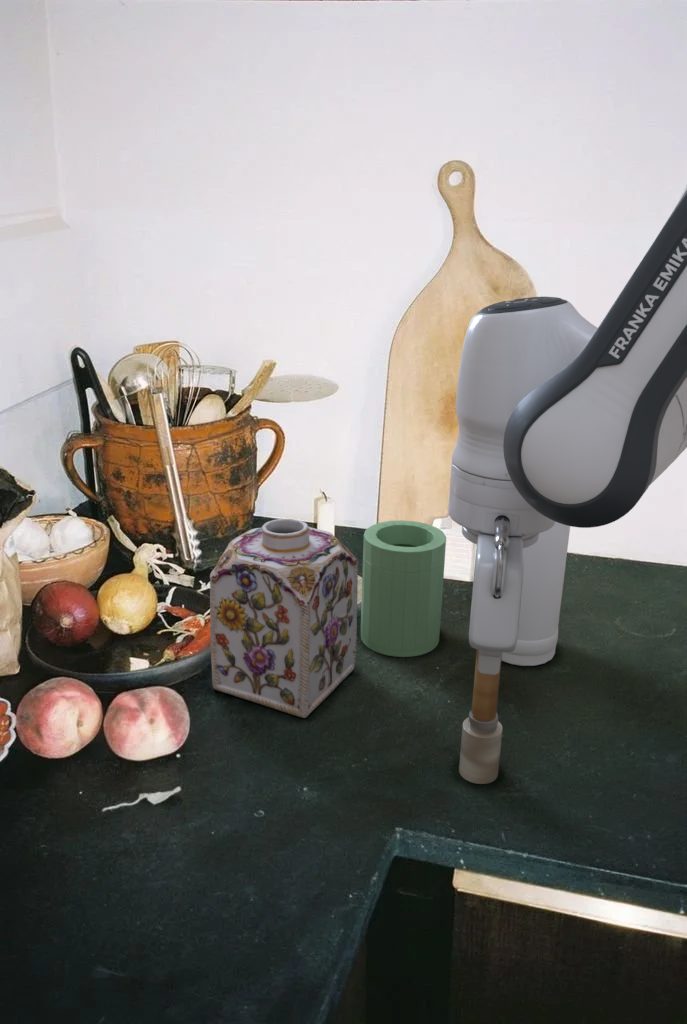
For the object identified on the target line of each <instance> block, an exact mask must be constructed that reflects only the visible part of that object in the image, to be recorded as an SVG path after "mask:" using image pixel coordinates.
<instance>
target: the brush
mask: <svg viewBox="0 0 687 1024" xmlns="http://www.w3.org/2000/svg"><path fill="white" fill-rule="evenodd" d="M475 653H476V654H475V666H474V677H473V690H472V701H471V702H472V703H471V709H470V711H469V713H468V717H466V718H465V719H464V720H463V722H462V726H461V740H460V752H459V763H458V772H459V774H460V776H461V778H463V779H464V780H465V781H468V782H470V783H472V784H478V785H488V784H491V783H493V782H495V781H496V780H497V779H498V776H499V769H500V760H501V751H502V750H501V749H502V739H503V729H504V727H503V725H502V723H501V722H500V721H499V715H498V713H497V709H498V699H499V690H500V689H499V688H500V680H501V679H500V678H501V669H502V661H501V662H500V671H499V673H498V674H496V675H490V674H482V673H480V672H479V671H478V658H479V649H476V652H475ZM501 659H502V655H501Z"/></svg>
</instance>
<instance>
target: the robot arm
mask: <svg viewBox="0 0 687 1024" xmlns="http://www.w3.org/2000/svg"><path fill="white" fill-rule="evenodd" d="M455 413H456V414H455V415H456V418H457V423H458V436H457V440H456V443H455V446H454V448H453V451H452V455H451V466H450V478H449V479H450V480H449V494H448V507H447V509H448V510H447V512H448V513H447V514H448V516H449V517H450V519H451V520H452V521H453V522H454V523H456V524H458V525H459V526H461V534H462V536H463V537H464V538H465V539H466V540H467V541H469V542H471V543H472V544H474V545H475V556H474V557H475V558H474V569H473V570H474V571H473V579H472V580H473V581H472V592H471V605H470V606H471V607H470V614H469V615H470V616H469V628H468V643H469V646H470V647H471V648H472V649H474V650H477V649H479V658H478V671H479V672H480V673H482V674H490V675H496V674H498V673H499V671H500V672H501V669H500V662H501V663H502V661H501V655H502V652H512V651H513V650H514V649H515V647H516V643H517V637H518V628H519V618H520V607H521V596H522V585H523V569H524V561H523V548H526V547H529V546H531V545H533V544H534V543H536V542H537V540H538V536H539V533H541V532H544V531H547V530H549V529H550V528H552V527H553V526H554V524H555V522H558V523H561V524H564V525H567V526H570V527H571V528H581V529H589V528H597V527H603V526H606V525H609V524H612V523H614V522H616V521H618V520H620V519H621V518H623V517H624V516H626V515H627V514H628V513H629V512H631V510H633V508H634V507H635V506H636V505H637V504H638V503H639V501H641V500H640V499H642V497H643V495H644V494H645V493H646V492H647V490H648V489H649V487H650V486H651V485H652V484H653V483H654V482H655V481H656V480H657V479H658V478H659V477H660V476H661V475H662V474H663V473H665V471H666V470H667V469H668V468H669V467H670V466H671V465H672V464H673V463H674V462H675V461H676V460H677V459H678V458H679V457H680V456H681V455H682V453H683V452H684V451H685V450H686V449H687V184H686V186H685V187H684V189H683V191H682V193H681V195H680V197H679V199H678V201H677V204H676V205H675V207H674V209H673V210H672V212H671V214H670V215H669V217H668V218H667V220H666V222H665V224H664V225H663V226H662V228H661V229H660V231H659V233H658V234H657V236H656V238H655V239H654V241H653V242H652V244H651V245H650V246H649V248H648V250H647V251H646V253H645V255H644V256H643V258H642V259H641V261H640V262H639V264H638V265H637V267H636V269H634V272H633V273H632V275H631V276H630V278H629V280H628V281H627V282H626V284H625V285H624V287H623V288H622V290H621V291H620V293H619V295H618V296H617V298H616V299H615V301H614V303H613V304H612V306H611V307H610V309H609V310H608V312H607V313H606V315H605V316H604V318H603V319H602V321H601V322H600V324H599V326H598V327H597V326H596V325H594V324H593V323H591V322H590V321H589V320H587V318H585V317H584V316H583V315H582V314H580V312H579V311H578V310H577V309H576V307H575V306H574V304H572V303H571V302H570V301H568V300H567V299H563V298H561V297H557V296H556V297H555V296H533V297H532V296H531V297H522V298H515V299H512V300H511V299H510V300H503V301H500V302H496V303H492V304H490V305H487V306H485V307H482V308H481V309H480V310H479V311H477V312H476V314H475V315H473V316H472V318H471V319H470V321H469V323H468V326H467V328H466V332H465V335H464V339H463V344H462V349H461V356H460V361H459V368H458V376H457V386H456V394H455Z"/></svg>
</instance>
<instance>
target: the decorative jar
mask: <svg viewBox="0 0 687 1024" xmlns="http://www.w3.org/2000/svg"><path fill="white" fill-rule="evenodd" d="M358 575H359V561H358V559H357V558H356V556H354V554H353V553H352V551H350V550H349V549H348V547H347V546H346V545H344V544H343V543H342V542H340V540H339V538H337V537H336V536H335V535H334V534H333V533H332V532H330V531H327V530H324V529H323V530H322V529H318V528H315V527H311V526H309V525H308V523H306V522H305V521H303V520H298V519H294V518H278V519H272V520H269V521H266V522H265V523H264V524H263V525H262V526H261V527H256V528H251V529H248V530H247V531H246V532H245V531H244V533H241V534H239V535H238V536H236V537H234V538H233V539H232V540H231V541H230V542H229V543H228V545H227V546H226V548H225V549H224V552H222V555H221V556H220V557H219V559H218V561H217V563H216V565H215V566H214V568H213V569H212V570H211V571H210V574H209V581H210V582H209V584H210V585H209V620H210V621H209V634H210V635H209V636H210V637H209V638H210V663H211V679H212V681H211V682H212V683H211V684H212V685H211V686H212V688H213V689H214V690H215V691H217V692H220V693H224V694H227V695H230V696H234V697H236V698H240V699H242V700H246V701H248V702H252V703H255V704H258V705H262V706H264V707H267V708H270V709H274V710H277V711H279V712H282V713H286V714H288V715H292V716H295V717H298V718H302V719H306V718H308V716H310V714H311V713H313V712H314V711H315V709H317V707H319V706H320V705H321V704H322V703H323V702H324V701H325V700H326V698H328V697H329V696H330V695H331V694H332V693H333V692H334V691H335V689H336V688H337V687H338V686H339V685H340V684H341V683H342V682H343V681H344V680H345V679H346V678H347V677H348V676H349V675H350V674H351V673H352V672H353V671H354V669H355V666H356V658H357V637H358V635H357V631H358V627H357V626H358V583H359V582H358V581H359V580H358Z"/></svg>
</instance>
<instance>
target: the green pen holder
mask: <svg viewBox="0 0 687 1024" xmlns="http://www.w3.org/2000/svg"><path fill="white" fill-rule="evenodd" d="M364 530H365V531H364V533H363V543H362V544H363V545H362V546H363V547H362V574H361V575H362V577H361V603H360V604H361V606H360V610H361V611H360V639H361V641H362V643H363V644H364V645H365V646H366V647H367V648H368V649H370V650H371V651H373V652H376V653H378V654H381V655H385V656H389V657H397V658H411V657H418V656H422V655H425V654H428V653H430V652H431V651H433V650H434V649H436V648H437V646H438V645H439V642H440V633H441V623H442V620H441V619H442V608H443V607H442V605H443V591H444V576H445V564H446V563H445V561H446V549H447V548H446V547H447V535H446V534H445V532H444V531H443V530H441V529H440V528H438V527H436V526H434V525H431V524H428V523H425V522H419V521H414V520H388V521H381V522H377V523H375V524H371V525H370V526H369V527H368V528H365V529H364Z"/></svg>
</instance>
